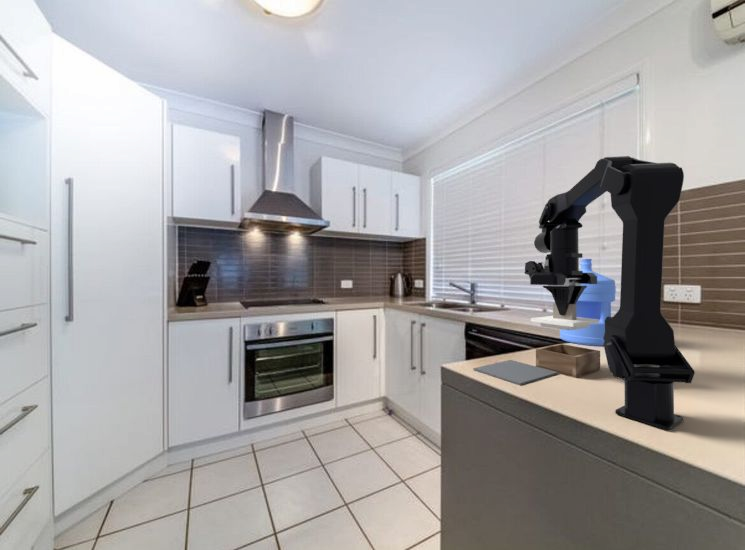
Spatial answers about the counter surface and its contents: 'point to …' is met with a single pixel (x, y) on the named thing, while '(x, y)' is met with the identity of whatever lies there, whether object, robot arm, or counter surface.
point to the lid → (565, 319)
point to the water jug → (592, 309)
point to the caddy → (568, 359)
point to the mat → (515, 372)
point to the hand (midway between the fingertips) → (564, 314)
